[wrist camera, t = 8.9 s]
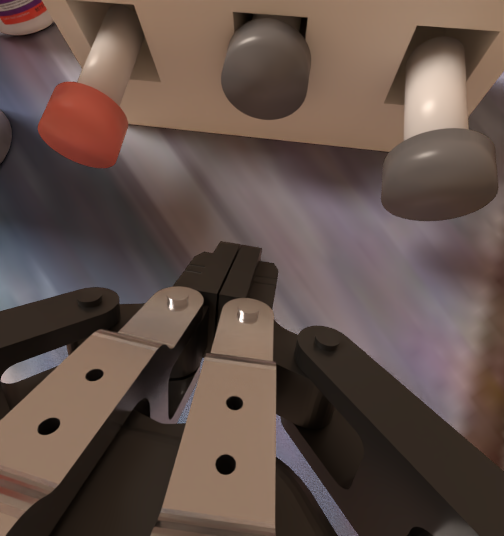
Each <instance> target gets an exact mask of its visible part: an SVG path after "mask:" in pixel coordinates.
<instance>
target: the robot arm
mask: <svg viewBox="0 0 504 536" xmlns="http://www.w3.org/2000/svg"><path fill="white" fill-rule="evenodd" d="M11 139H12V129H11V126H10V122H9V120H8V119H7V117H6V116H5V114H4V113H3V112H2V111H1V110H0V164H1V162H2V161H3V160H4V158H5V156H6V154H7V152H8V150H9V148H10V144H11ZM261 252H262V248H259V247H253V246H246V245H240V244H234V243H228V242H222V241H221V242H220V243H219V245H218V246H217V248H216V250H215V251H214V253H209V252H203V253H201V254H199V255H197V256H195V257H194V258H193V260H192V261H191V262H190V264H189V265H188V266H187V268H186V269H185V271H184V272H183V273H182V275H181V276H180V277H179V279H178V280H177V282H176V283H175V284H174V286H173V287H169V288H165V289H162V290H160V291H158V292H157V293H155V294H154V295H153V296H152V297H151V298H150V299H149V300H148V302H147V303H143V304H120V303H119V296H118V294H117V293H116V292H114V291H112V290H110V289H107V288H100V287H92V288H84V289H80V290H76V291H73V292H69V293H65V294H62V295H58V296H55V297H51V298H47V299H44V300H40V301H36V302H33V303H29V304H25V305H22V306H18V307H14V308H11V309H7V310H3V311H0V380H1V376H2V374H3V373H4V372H5V370H7V369H8V368H9V367H10V366H12V365H14V364H16V363H19V362H21V361H24V360H27V359H29V358H32V357H35V356H38V355H40V354H43V353H46V352H49V351H51V350H54V349H57V348H59V347H62V346H65V345H67V351H68V357H67V358H66V359H65V360H64V361H63V362H62V363H61V364H60V365H59V366H56V367H54V368H51V369H49V370H46V371H44V372H41V373H39V374H36V375H34V376H31V377H29V378H26V379H24V380H21V381H19V382H16V383H12V384H6V383H2V382H1V381H0V536H338V535H337V534H336V532H335V531H334V529H333V527H332V526H331V524H330V522H329V521H328V519H327V517H326V516H325V514H324V513H323V511H322V509H321V508H320V506H319V504H318V503H317V501H316V499H315V498H314V496H313V495H312V493H311V492H310V490H309V489H308V488H307V486H306V485H305V484H304V483H303V481H302V480H301V479H300V478H299V477H298V476H297V475H296V474H295V473H294V471H293V470H292V469H291V468H290V467H288V466H287V465H286V464H285V463H283V462H282V461H281V460H280V459H278V458H277V457H276V414H277V415H279V416H281V422H282V425H283V427H284V429H285V430H286V432H287V433H288V434H289V436H290V437H291V439H292V440H293V442H294V443H295V445H296V446H297V447H298V449H299V450H300V452H301V453H302V455H303V456H304V457H305V459H306V460H307V462H308V463H309V465H310V466H311V468H312V469H313V470H314V472H315V473H316V475H317V476H318V478H319V479H320V480H321V482H322V483H323V485H324V486H325V488H326V489H327V491H328V492H329V493H330V495H331V496H332V498H333V499H334V501H335V502H336V503H337V505H338V506H339V508H340V509H341V511H342V512H343V514H344V515H345V516H346V518H347V519H348V521H349V522H350V524H351V525H352V526H353V528H354V529H355V531H356V532H357V534H358V535H359V536H504V471H503V470H501V469H500V468H499V467H498V466H497V465H496V464H494V463H493V462H492V461H491V460H490V459H489V458H487V457H486V456H485V455H484V454H483V453H482V452H480V451H479V450H478V449H477V448H476V447H475V446H473V445H472V444H471V443H470V442H469V441H468V440H466V439H465V438H464V437H463V436H462V435H461V434H459V433H458V432H457V431H456V430H455V429H454V428H453V427H451V426H450V425H449V424H448V423H447V422H446V421H444V420H443V419H442V418H441V417H440V416H439V415H437V414H436V413H435V412H434V411H433V410H432V409H430V408H429V407H428V406H427V405H426V404H425V403H423V402H422V401H421V400H420V399H419V398H418V397H416V396H415V395H414V394H413V393H412V392H411V391H409V390H408V389H407V388H406V387H405V386H404V385H402V384H401V383H400V382H399V381H398V380H397V379H395V378H394V377H393V376H392V375H391V374H390V373H388V372H387V371H386V370H385V369H384V368H383V367H381V366H380V365H379V364H378V363H377V362H376V361H374V360H373V359H372V358H371V357H370V356H369V355H367V354H366V353H365V352H364V351H363V350H362V349H360V348H359V347H358V346H357V345H356V344H355V343H353V342H352V341H351V340H350V339H349V338H348V337H346V336H345V335H344V334H342V333H341V332H339V331H337V330H335V329H332V328H329V327H324V326H311V327H307V328H305V329H303V330H302V331H301V332H300V333H299V335H297V334H295V333H293V332H290V331H288V330H286V329H284V328H283V327H281V326H280V325H279V324H278V323H277V322H276V321H275V320H274V314H273V311H272V307H273V301H274V295H275V289H276V283H277V277H278V269H277V268H276V266H275V265H274V263H269V262H263V261H260V260H261ZM202 358H205V359H204V362H203V366H202V369H201V373H200V362H201V360H202ZM198 379H199V380H198ZM197 382H198V383H197ZM196 384H197V387H196V390H195V394H194V397H193V401H192V404H191V408H190V411H189V415H188V418H187V422H186V423H182V424H177V422H178V420H179V418H180V416H181V414H182V412H183V410H184V408H185V406H186V404H187V402H188V400H189V398H190V396H191V394H192V392H193V390H194V388H195V386H196Z"/></svg>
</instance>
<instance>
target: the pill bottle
mask: <svg viewBox="0 0 504 536" xmlns="http://www.w3.org/2000/svg"><path fill="white" fill-rule="evenodd" d="M53 22H54V20H53V19H52V17H51V15H50V14H49V12H48V10H47V9H46V7H45V5H44V3H43V2H42V0H0V32H1V33H4V34H9V35H26V34H31V33H34V32H37V31H40V30H42V29H45V28H46V27H48V26H50V25H51V24H52V23H53Z"/></svg>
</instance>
